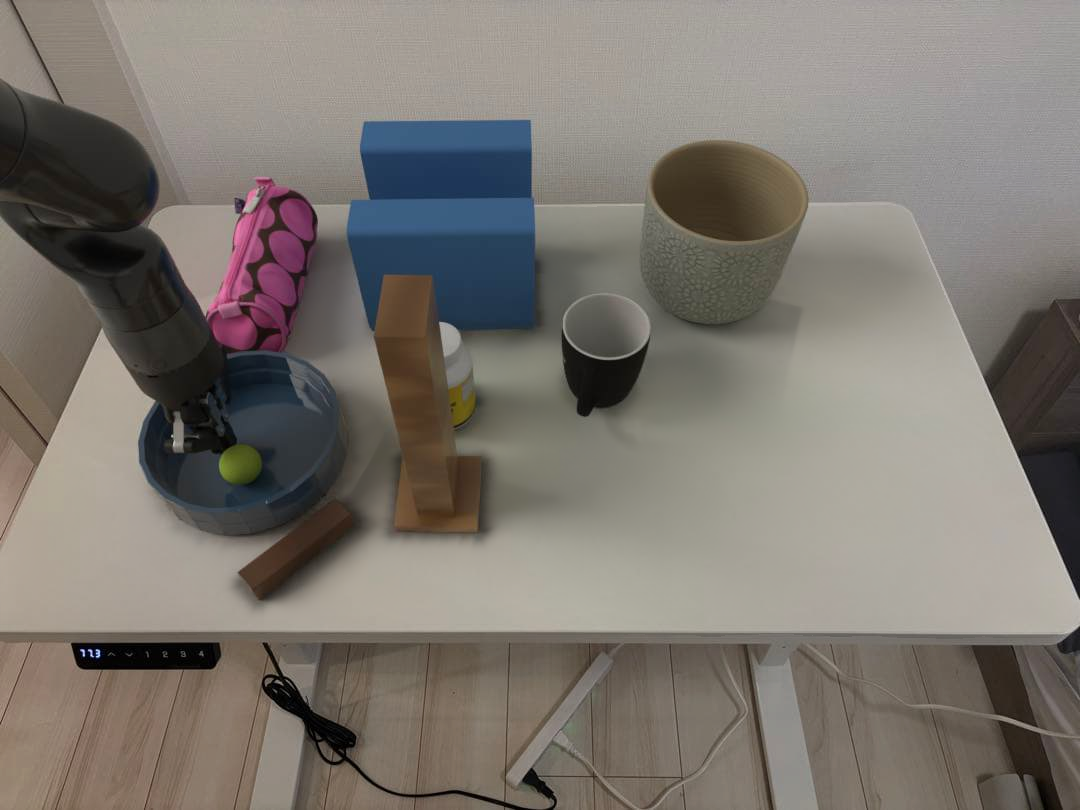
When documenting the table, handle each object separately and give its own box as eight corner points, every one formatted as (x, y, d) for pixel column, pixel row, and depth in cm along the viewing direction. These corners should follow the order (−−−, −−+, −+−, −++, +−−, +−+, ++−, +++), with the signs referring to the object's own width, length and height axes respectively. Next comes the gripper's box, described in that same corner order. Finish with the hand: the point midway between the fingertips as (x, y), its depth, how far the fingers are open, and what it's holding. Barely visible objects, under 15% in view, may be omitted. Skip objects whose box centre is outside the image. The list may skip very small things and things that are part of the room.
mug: (573, 345, 91) (577, 283, 83) (649, 366, 89) (661, 305, 81) (538, 427, 84) (539, 368, 76) (619, 451, 83) (629, 394, 74)
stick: (351, 513, 75) (355, 525, 77) (335, 497, 76) (340, 509, 78) (251, 590, 71) (259, 600, 73) (236, 572, 72) (244, 582, 74)
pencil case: (248, 236, 101) (223, 172, 93) (325, 235, 101) (306, 170, 93) (214, 369, 88) (182, 308, 80) (302, 367, 89) (278, 306, 80)
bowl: (235, 575, 74) (218, 552, 70) (120, 460, 81) (98, 433, 77) (386, 445, 83) (379, 418, 79) (270, 351, 90) (258, 322, 86)
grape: (242, 499, 78) (230, 479, 75) (218, 476, 80) (204, 455, 76) (275, 473, 80) (264, 452, 77) (250, 451, 81) (239, 429, 78)
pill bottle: (403, 411, 85) (388, 342, 76) (445, 375, 88) (435, 304, 79) (447, 444, 83) (436, 377, 73) (488, 406, 86) (484, 336, 76)
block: (388, 242, 100) (364, 118, 86) (530, 240, 101) (530, 116, 86) (375, 353, 90) (345, 232, 75) (534, 350, 90) (535, 230, 76)
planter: (782, 345, 91) (822, 246, 79) (635, 341, 91) (652, 241, 79) (762, 243, 101) (794, 140, 89) (629, 240, 101) (643, 137, 89)
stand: (395, 531, 77) (339, 347, 54) (404, 461, 82) (355, 264, 59) (477, 532, 77) (456, 348, 54) (481, 462, 82) (463, 265, 59)
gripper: (141, 279, 71) (205, 394, 85) (91, 398, 63) (171, 504, 77) (225, 280, 71) (275, 395, 85) (186, 399, 63) (248, 504, 77)
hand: (226, 447), depth 81 cm, fingers closed
